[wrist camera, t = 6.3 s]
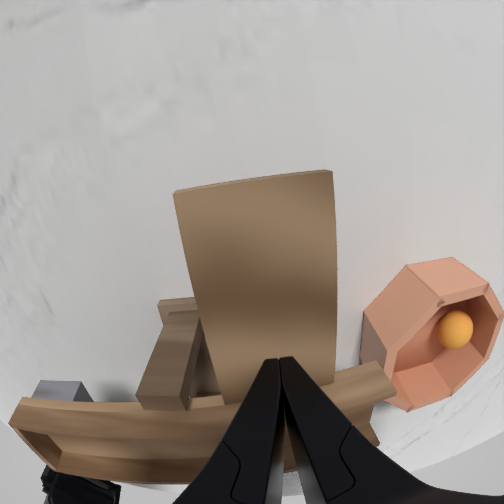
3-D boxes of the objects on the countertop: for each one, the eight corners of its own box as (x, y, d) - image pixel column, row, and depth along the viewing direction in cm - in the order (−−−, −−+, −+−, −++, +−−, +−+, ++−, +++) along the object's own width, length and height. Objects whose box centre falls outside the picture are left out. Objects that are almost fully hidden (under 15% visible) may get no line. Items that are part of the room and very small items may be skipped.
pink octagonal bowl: (454, 354, 24) (477, 384, 19) (356, 383, 24) (370, 422, 20) (479, 251, 20) (515, 275, 15) (365, 271, 20) (393, 306, 16)
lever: (355, 399, 19) (378, 445, 15) (67, 429, 18) (53, 470, 13) (365, 161, 13) (424, 172, 9) (-30, 242, 12) (-77, 271, 7)
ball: (458, 331, 22) (473, 353, 19) (429, 337, 22) (441, 360, 19) (466, 300, 21) (483, 321, 17) (435, 305, 21) (451, 327, 18)
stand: (236, 397, 25) (233, 481, 16) (194, 398, 25) (180, 479, 16) (212, 295, 21) (191, 387, 12) (160, 300, 21) (117, 386, 13)
